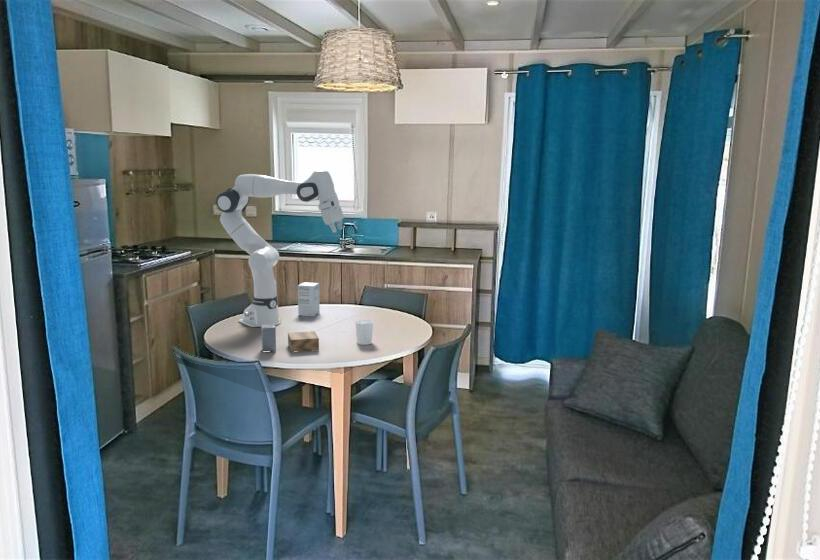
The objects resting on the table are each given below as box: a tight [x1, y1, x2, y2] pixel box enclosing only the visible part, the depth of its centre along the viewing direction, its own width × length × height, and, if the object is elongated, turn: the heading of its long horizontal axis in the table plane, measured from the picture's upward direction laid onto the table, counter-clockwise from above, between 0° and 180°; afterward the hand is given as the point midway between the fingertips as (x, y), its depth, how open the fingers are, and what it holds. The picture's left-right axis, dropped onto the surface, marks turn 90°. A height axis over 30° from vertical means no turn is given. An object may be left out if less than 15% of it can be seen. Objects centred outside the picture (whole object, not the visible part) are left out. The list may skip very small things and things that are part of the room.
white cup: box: [355, 319, 374, 346], centre depth 294 cm, size 8×8×10 cm
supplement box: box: [297, 281, 321, 317], centre depth 348 cm, size 10×9×17 cm
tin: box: [260, 324, 277, 352], centre depth 280 cm, size 6×6×11 cm
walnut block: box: [287, 330, 320, 353], centre depth 285 cm, size 12×12×6 cm
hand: (337, 230), depth 309 cm, fingers open, 8 cm apart
